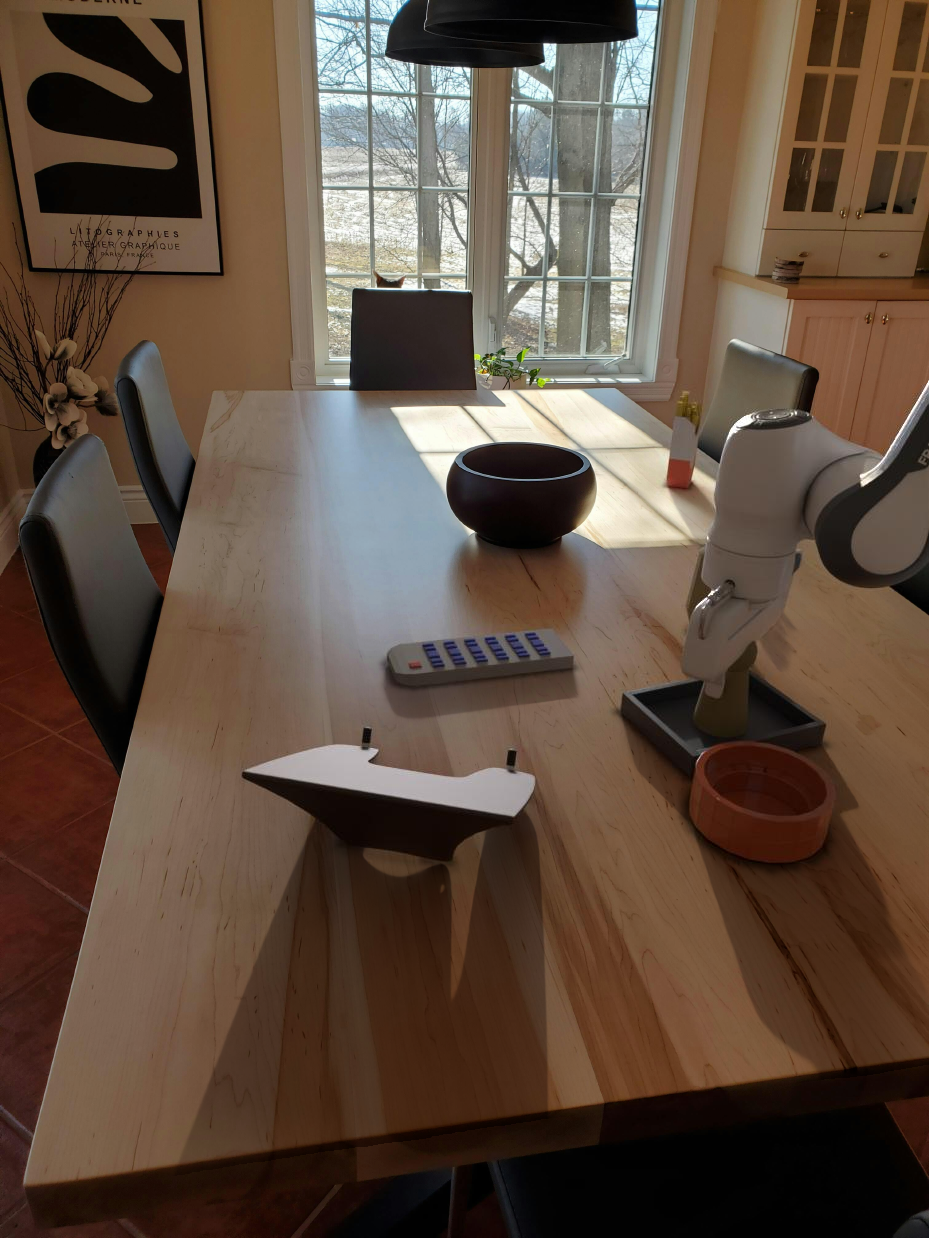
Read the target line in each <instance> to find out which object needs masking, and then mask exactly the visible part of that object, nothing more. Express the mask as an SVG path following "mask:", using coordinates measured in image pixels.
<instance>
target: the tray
mask: <svg viewBox="0 0 929 1238" xmlns="http://www.w3.org/2000/svg"><path fill="white" fill-rule="evenodd" d="M703 684H704V681H701V680H698V679H695V678H692V677H691V678H688V679H687V678H686V679H681V680H678V681H673V682H667V683H664V684H663V683H662V684H659V685H652V686H649V687H644V688H639V689H634V690H629V691H625V692H624V691H623V692H622V694H621V695H622V696H621V703H620V711H619V712H620V713H621V714H622V716H624V717H625V718H626V719H627V720H628V721H630V723H632V724H633V725H634V727H635V728H637V729H638V730H639V731H640V732H641V733H642V734H643V735H644V736H646V738H647V739H648V740H650V741H651V742H652V743H653V744H654V746H656V747H657V748H658V749H659V750H660V751H661V752H662V753H663V754H664V755H665V756H667V758H669V759H670V760H671V761H672V762H673V763H674V764H675V765H676V766H677V767H678V768H679V769H680V770H681V771H683V772H684V773H685V774H686V775H687V776H688V777H689V778H692V777H694V772H695V766H696V762H697V760H698V759H699V757H700V756H701V754H702V753H703V752H704V751H706V750H708V749H709V748H711V747H713V746H715V745H719V744H723V743H727V742H732V741H753V742H760V743H767V744H772V745H776V746H779V747H782V748H785V749H789V750H792V751H794V752H796V751H798V750H801V749H803V750H804V749H806V748H810V747H814V746H818V745H822V744H823V742H824V737H825V732H826V728H827V723H826V722H824V721H823V720H822V719H821V718H819V717H817V716H816V715H815V714H813V713H812V712H810V711H809V710H808V709H806V708H805V707H804V706H802V705H800V704H799V703H798V702H796V701H795V700H794V699H792V698H791V697H789V696H788V695H786V694H785V693H784V692H782V691H781V690H779V689H778V688H776V687H775V686H774V685H772V684H771V683H769V682H768V681H767V680H765V679H764V678H763V677H761V676H760V675H758V674H757V673H755V672H754V671H753V670H751V669H750V668H749V687H748V715H747V730H746V731H745V732H744V734H742V735H740V736H737V737H731V738H725V737H717V736H712V735H710V734H707V733H705V732H703V731H701V730H700V729H698V728H697V727H696V726H695V725H694V724H693V720H692V718H693V714H694V711H695V708H696V705H697V702H698V699H699V696H700V693H701V690H702V687H703Z"/></svg>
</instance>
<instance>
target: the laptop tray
mask: <svg viewBox="0 0 929 1238" xmlns="http://www.w3.org/2000/svg"><path fill="white" fill-rule="evenodd" d="M372 732H373V729H372V727H370V726H364V727H363V730H362V736H361V737H362V738H361V745H360V746H359V745H352V744H329V745H324V746H320V747H315V748H309V749H306V750H303V751H299V752H296V753H292V754H288V755H286V756H282V757H278V758H275V759H273V760H270V761H269V760H268V761H266V762H264V763H261V764H258V765H255V766H252V767H249V768H247V769H244V770H242V772H241V778H242V779H243V780H246V781H247V782H250V783H252V784H254V785H256V786H258V787H261V788H262V789H264V790H267V791H269V792H270V793H272V794H274V795H277V796H278V797H280V798H283V799H284V800H285V801H288V802H290V803H291V804H293V805H294V806H296V807H298V808H299V809H301V810H303V811H304V812H306V813H308V814H309V815H310V816H312V817H313V818H314V819H316V820H317V821H318V822H320V823H321V824H322V825H324V826H325V827H326V828H327V829H329V831H330V832H331V833H332V834H333V835H334V836H335V837H336V838H337V839H338V840H339V841H340V842H342V843H344V844H345V845H349V846H355V847H360V848H367V849H375V850H382V851H389V852H394V853H400V854H404V855H409V856H414V857H418V858H423V859H428V860H432V861H437V862H443V863H449V862H452V861H453V859H454V855H455V852H456V850H457V848H458V847H459V846H460V845H461V844H462V843H463V842H464V841H466V840H467V839H469V838H470V837H473V836H474V835H476V834H478V833H483V832H485V831H489V830H492V829H496V828H500V827H505V826H509V825H513V824H514V822H515V820H516V818H517V817H518V816H519V815H520V814H521V813H522V812H523V810H524V809H525V808H526V807H527V806H528V803H529V802H530V800H531V798H532V796H533V795H534V791H535V787H536V778H535V776H534V775H533V774H531V773H527V772H522V771H519V770H515V767H516V761H517V753H518V751H517V750H516V749H514V748H509V749H507V755H506V764H505V765H506V768H502V767H488V768H485V769H482V770H479V771H476V772H473V773H471V774H470V775H467V776H460V777H459V776H449V775H448V776H447V775H440V774H433V773H427V772H421V771H414V770H410V769H402V768H396V767H390V766H384V765H379V764H374V763H371V762H372V761H374V759H375V758H376V757H377V756H378V755H379V751H380V750H379V749H378V748H373V747H370V744H371V740H372Z"/></svg>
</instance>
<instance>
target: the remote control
mask: <svg viewBox="0 0 929 1238" xmlns="http://www.w3.org/2000/svg"><path fill="white" fill-rule="evenodd" d="M574 659H575V656H574V654H573V652H572V651H571V650H570V649H569V648H568V647H567V645H566V644H565V643H564V642H563V640H562V639H561V638H560V637H559V636H558V634H557V633H556V631H555V630H554V629H553V628H552V627H549V628H541V629H540V628H539V629H530V630H521V631H511V632H502V633H494V634H484V635H482V634H481V635H473V636H463V637H454V638H446V639H435V640H427V641H426V640H425V641H416V642H408V643H399V644H396V645H395V646H392V647H390V649H389V650H388V651H387V652H386V662H387V664H388V666H389V668H390V671H391V673H392V675H393V678H394V680H395V681H396V682H397V683H399V684H401V685H402V686H408V687H420V686H429V685H437V684H444V683H445V684H446V683H454V682H463V681H471V680H478V679H479V680H480V679H487V678H496V677H504V676H505V677H506V676H513V675H521V674H529V673H530V674H531V673H539V672H545V671H555V670H563V669H564V670H565V669H573V667H574Z"/></svg>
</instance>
